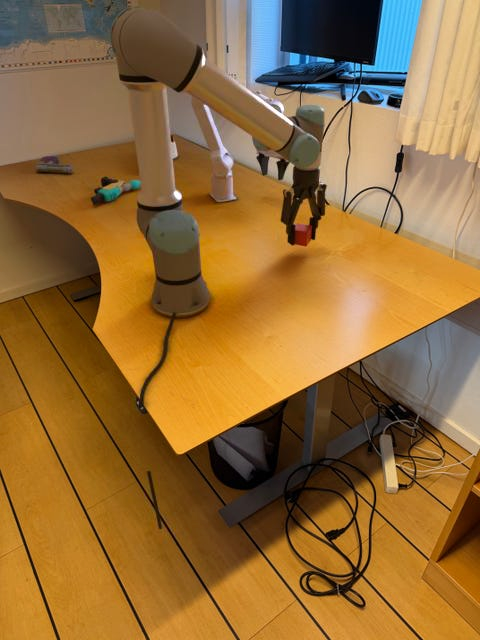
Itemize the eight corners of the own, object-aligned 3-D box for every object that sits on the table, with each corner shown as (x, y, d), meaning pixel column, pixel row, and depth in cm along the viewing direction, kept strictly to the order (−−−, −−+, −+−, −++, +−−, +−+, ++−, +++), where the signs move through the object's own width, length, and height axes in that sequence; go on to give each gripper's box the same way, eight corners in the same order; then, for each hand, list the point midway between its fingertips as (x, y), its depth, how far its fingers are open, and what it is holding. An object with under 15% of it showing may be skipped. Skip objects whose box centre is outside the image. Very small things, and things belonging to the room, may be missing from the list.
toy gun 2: (68, 191, 178) (99, 198, 173) (113, 171, 197) (142, 177, 191) (70, 203, 181) (101, 210, 175) (115, 182, 199) (143, 188, 194)
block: (306, 246, 143) (307, 232, 140) (291, 243, 145) (292, 229, 142) (311, 239, 147) (312, 225, 144) (296, 237, 149) (297, 223, 146)
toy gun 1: (85, 164, 218) (69, 176, 206) (48, 162, 221) (31, 173, 209) (84, 156, 216) (67, 167, 204) (46, 154, 219) (28, 164, 207)
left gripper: (327, 157, 139) (320, 229, 152) (269, 168, 131) (267, 243, 145) (343, 164, 133) (334, 238, 147) (283, 176, 126) (280, 253, 139)
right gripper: (250, 137, 169) (250, 175, 177) (282, 145, 161) (281, 184, 169) (263, 133, 173) (263, 170, 181) (295, 141, 165) (293, 179, 173)
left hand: (301, 240), depth 146 cm, fingers closed on block, 7 cm apart
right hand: (272, 177), depth 175 cm, fingers open, 7 cm apart
